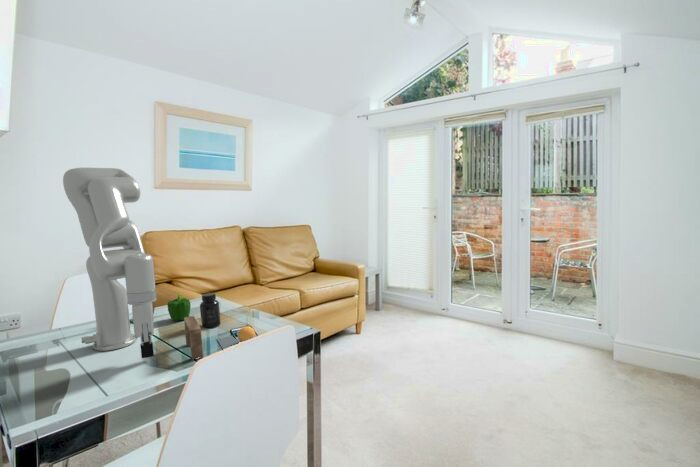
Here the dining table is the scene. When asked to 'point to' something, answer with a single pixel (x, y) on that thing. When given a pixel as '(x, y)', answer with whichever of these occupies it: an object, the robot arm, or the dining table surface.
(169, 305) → the bell pepper
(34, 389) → the dining table surface
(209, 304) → the supplement bottle
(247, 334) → the ball
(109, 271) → the robot arm
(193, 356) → the bridge
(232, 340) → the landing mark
